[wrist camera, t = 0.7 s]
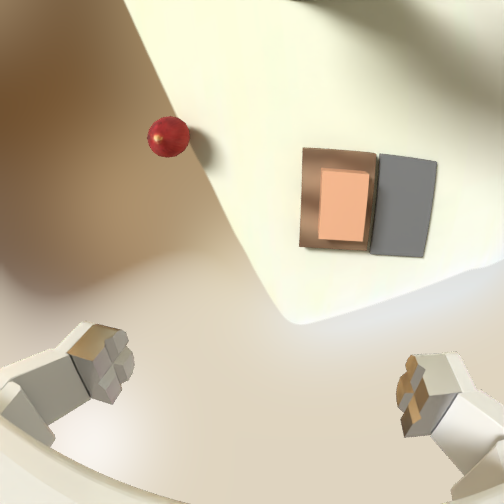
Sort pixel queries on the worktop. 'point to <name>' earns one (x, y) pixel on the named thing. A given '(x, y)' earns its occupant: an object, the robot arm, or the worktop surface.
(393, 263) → the worktop surface
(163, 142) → the onion
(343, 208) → the orange rectangular block
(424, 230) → the mat
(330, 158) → the board
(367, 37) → the worktop surface
